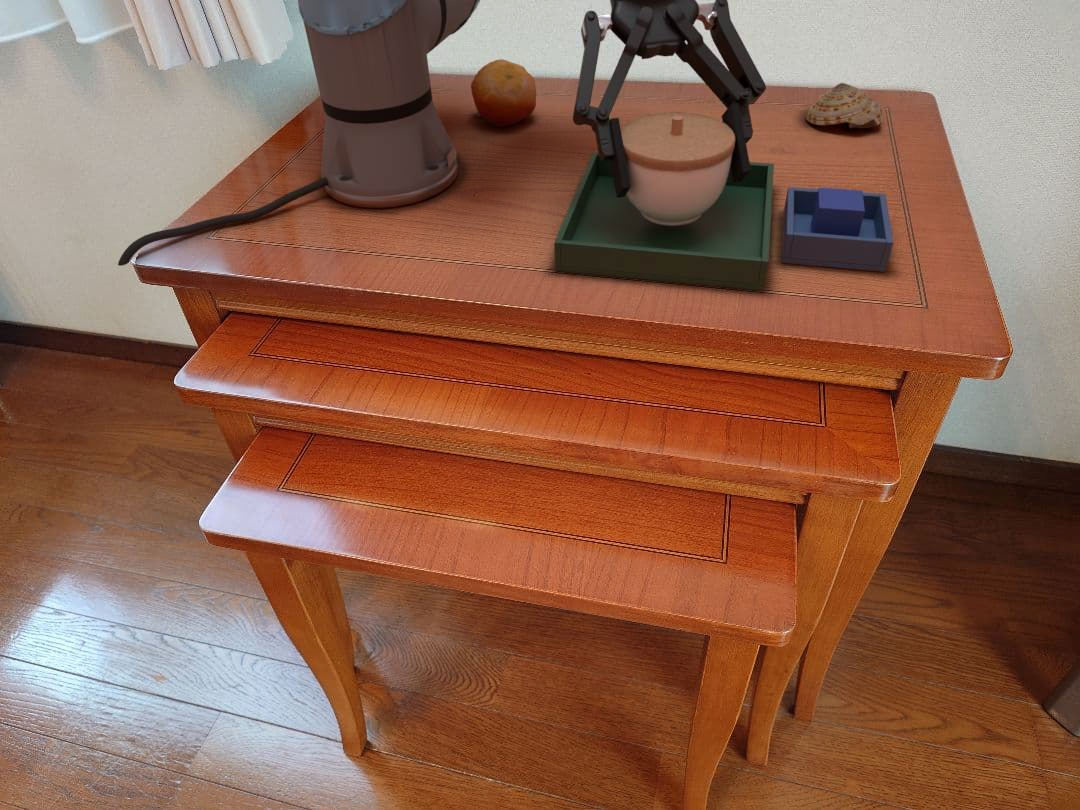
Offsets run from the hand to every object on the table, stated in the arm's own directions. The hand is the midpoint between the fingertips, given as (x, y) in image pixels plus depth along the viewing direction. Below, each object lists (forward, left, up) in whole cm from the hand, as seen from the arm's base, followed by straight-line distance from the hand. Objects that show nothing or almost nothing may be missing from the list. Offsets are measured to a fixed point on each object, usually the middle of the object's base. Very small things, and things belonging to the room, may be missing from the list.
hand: (683, 184), depth 74 cm
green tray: (0, +3, -6) cm, 7 cm away
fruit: (-12, +34, -6) cm, 37 cm away
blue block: (+14, -4, -6) cm, 16 cm away
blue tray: (+14, -4, -6) cm, 16 cm away
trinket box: (0, +3, -4) cm, 5 cm away
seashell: (+28, +22, -6) cm, 36 cm away
